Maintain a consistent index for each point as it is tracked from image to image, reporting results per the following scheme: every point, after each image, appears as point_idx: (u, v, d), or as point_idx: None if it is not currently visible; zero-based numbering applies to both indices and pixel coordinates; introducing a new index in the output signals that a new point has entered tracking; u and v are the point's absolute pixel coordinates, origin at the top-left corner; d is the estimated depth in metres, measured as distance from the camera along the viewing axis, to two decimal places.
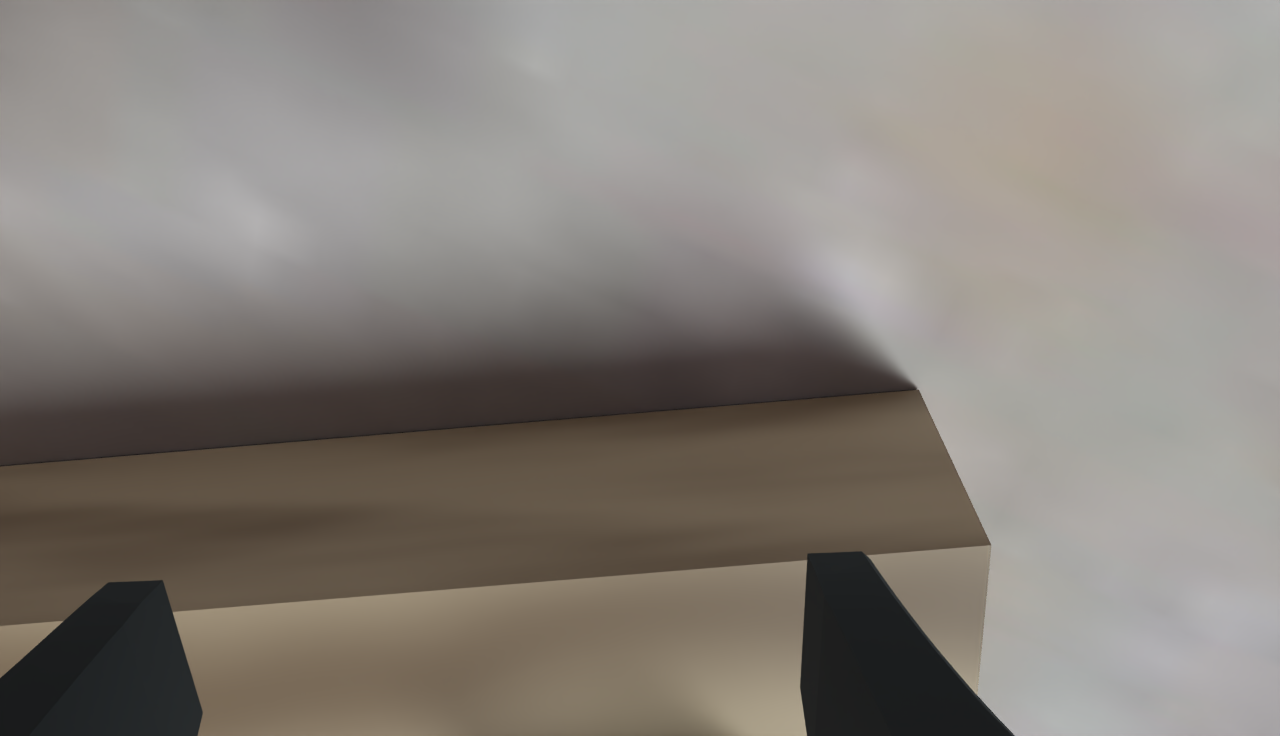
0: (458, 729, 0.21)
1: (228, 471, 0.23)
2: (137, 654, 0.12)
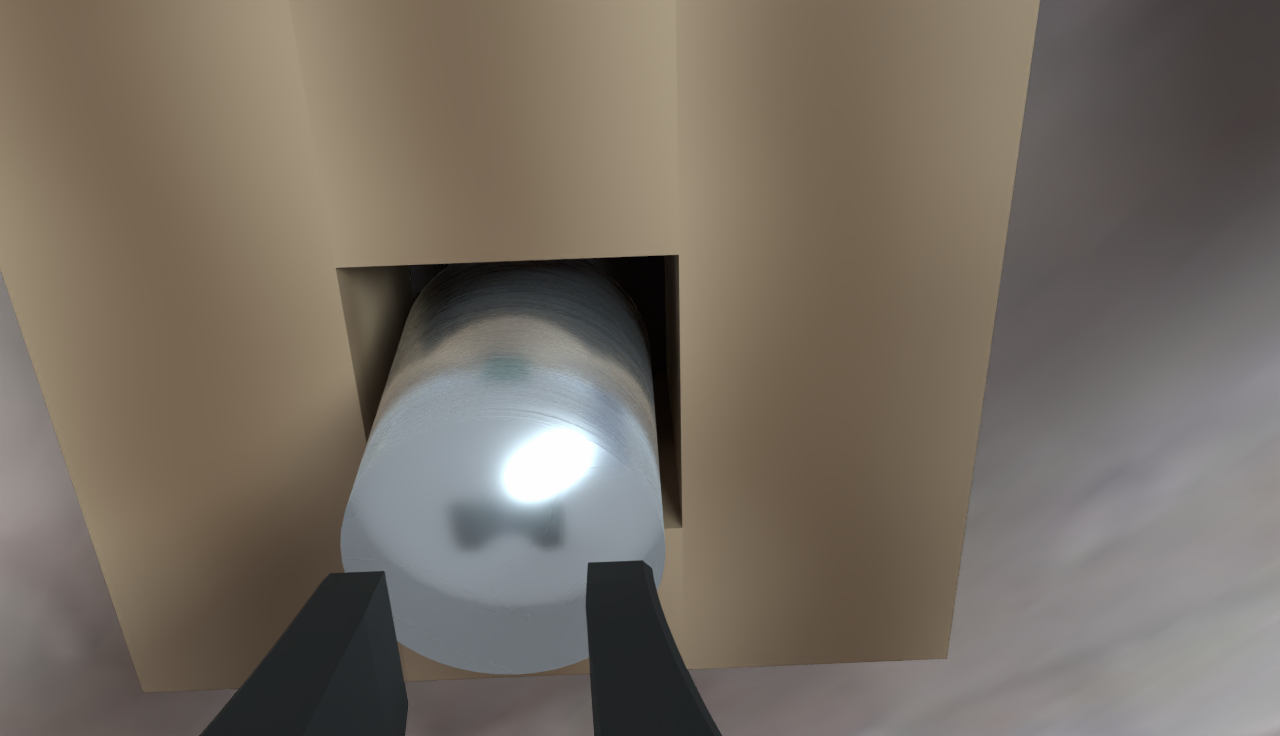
0: None
1: None
2: (372, 644, 0.12)
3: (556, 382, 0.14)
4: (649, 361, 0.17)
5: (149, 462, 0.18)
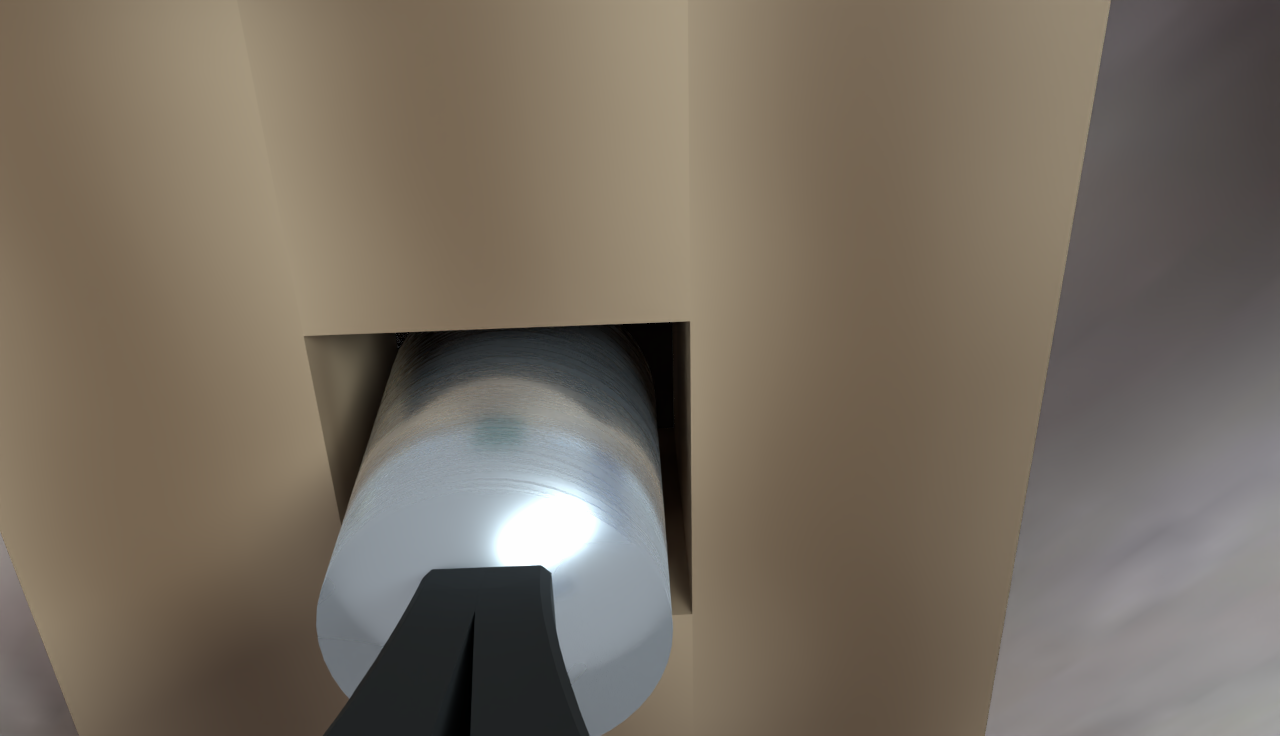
0: None
1: None
2: None
3: (553, 446, 0.13)
4: (654, 409, 0.16)
5: (98, 546, 0.16)
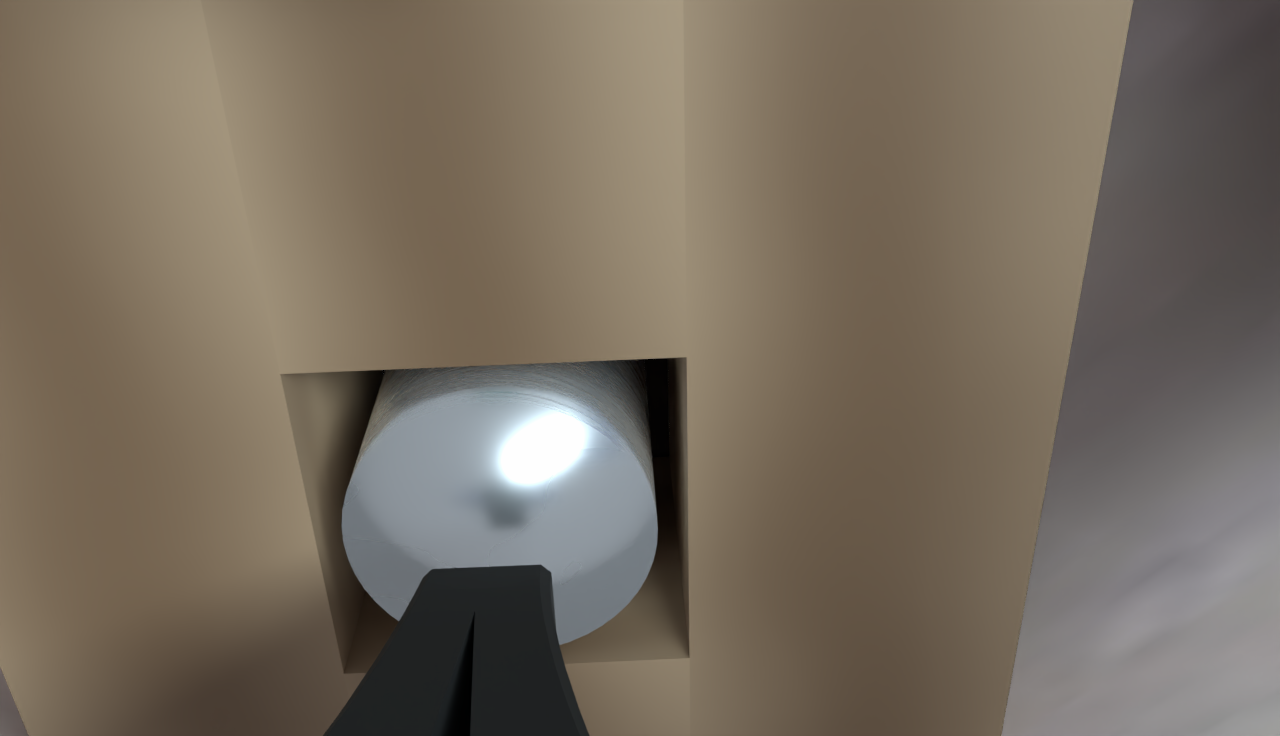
0: None
1: None
2: None
3: (551, 367, 0.15)
4: None
5: (66, 591, 0.15)
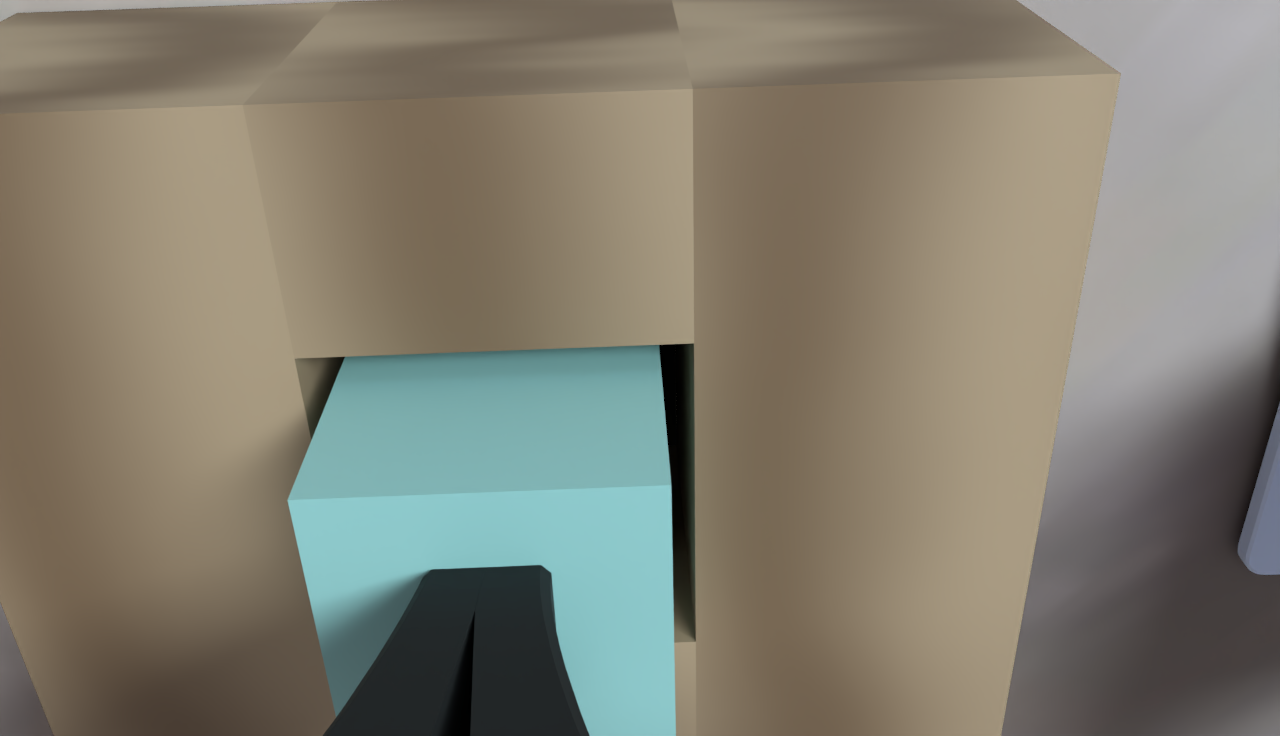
0: (279, 735, 0.17)
1: None
2: None
3: None
4: None
5: None
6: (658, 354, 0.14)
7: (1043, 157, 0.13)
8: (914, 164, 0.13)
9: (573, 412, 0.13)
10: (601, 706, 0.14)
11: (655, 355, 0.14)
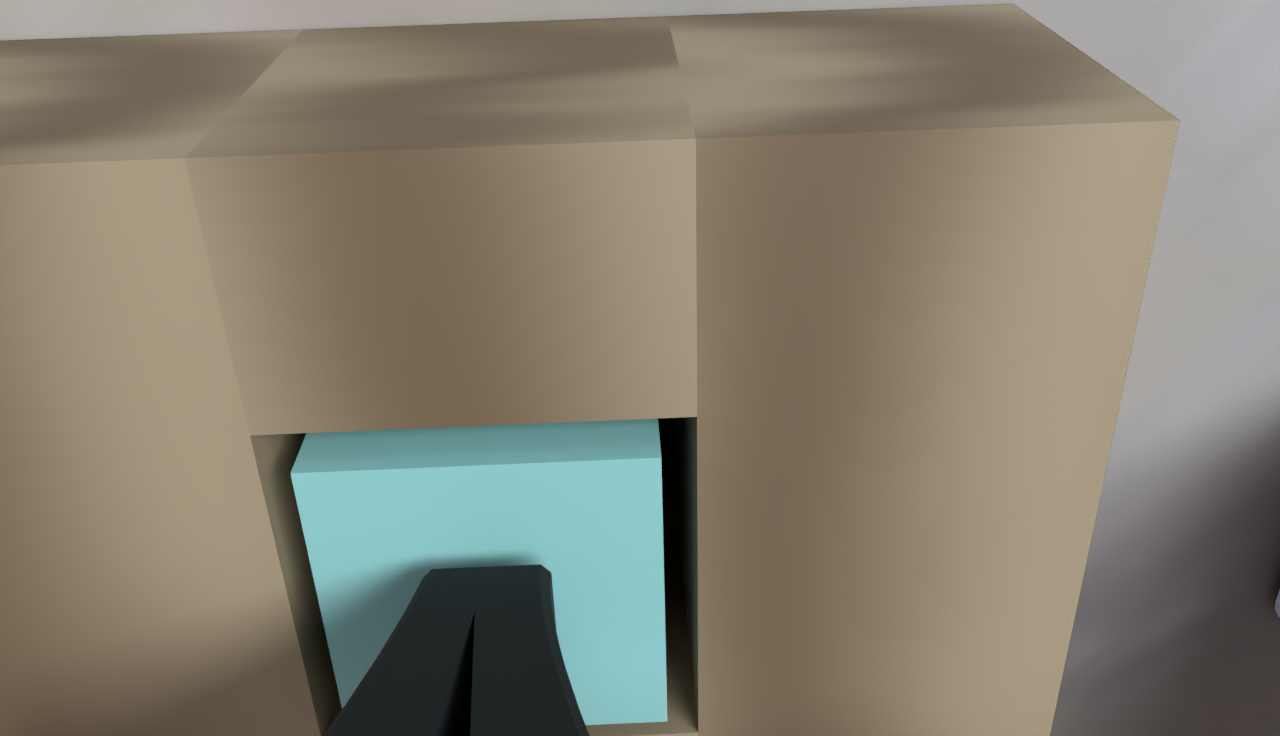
0: None
1: None
2: None
3: None
4: None
5: None
6: None
7: (1090, 213, 0.11)
8: (945, 221, 0.11)
9: None
10: (594, 675, 0.14)
11: None
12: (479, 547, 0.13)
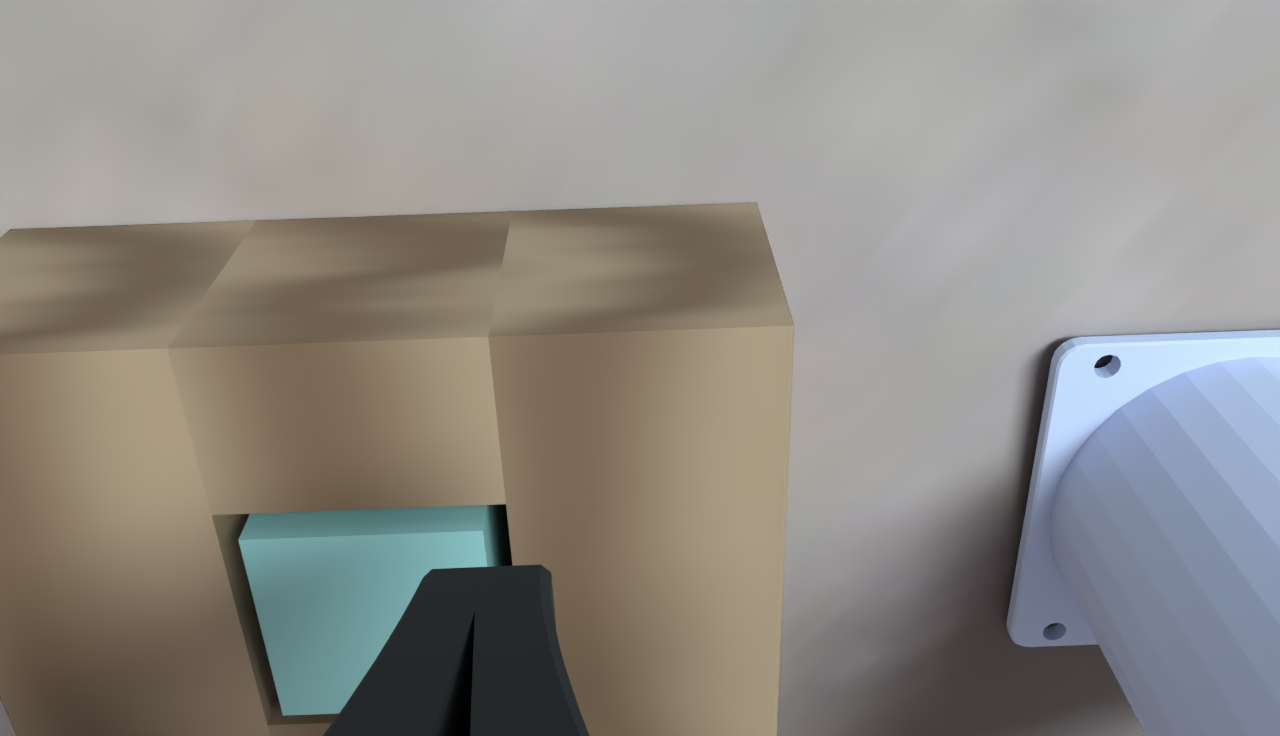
0: None
1: None
2: None
3: None
4: None
5: None
6: None
7: (746, 379, 0.18)
8: (653, 384, 0.18)
9: None
10: None
11: None
12: (366, 588, 0.19)
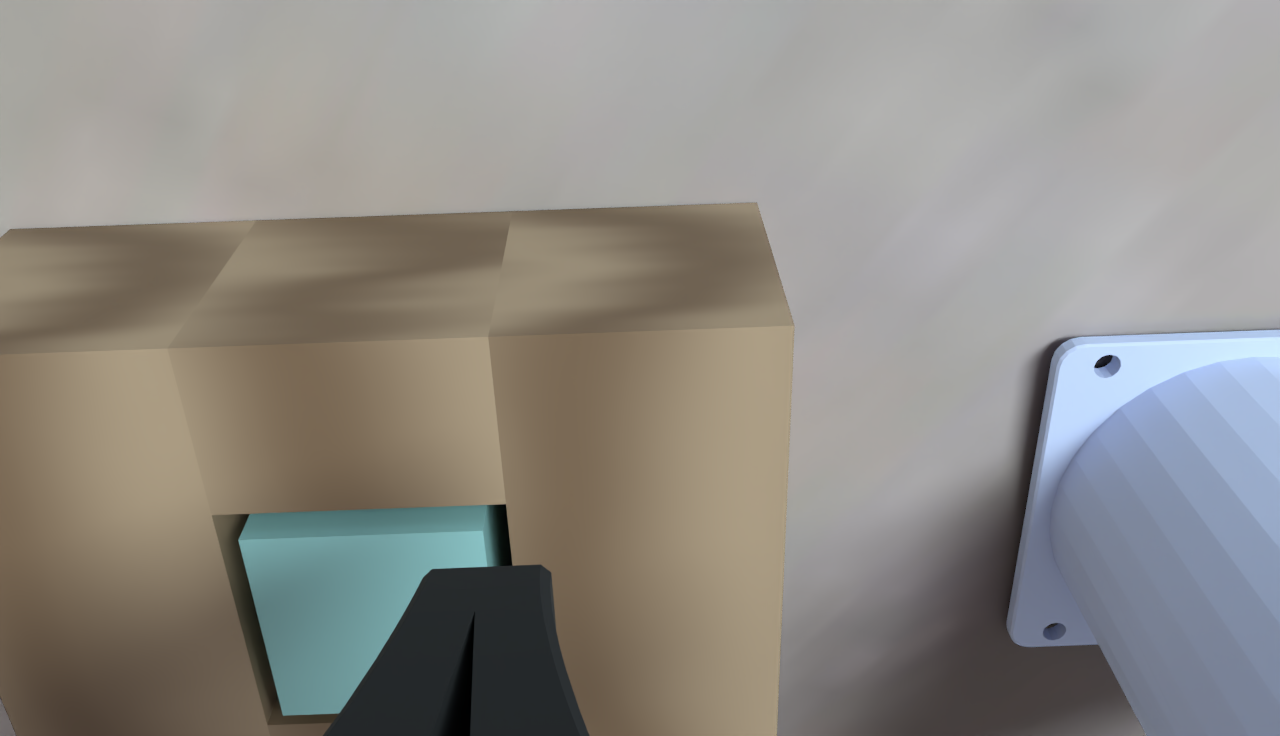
0: None
1: None
2: None
3: None
4: None
5: None
6: None
7: (746, 379, 0.18)
8: (653, 384, 0.18)
9: None
10: None
11: None
12: (366, 588, 0.19)
